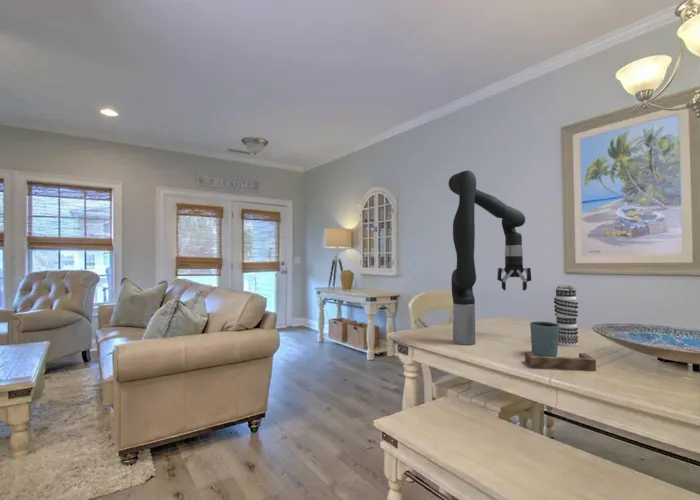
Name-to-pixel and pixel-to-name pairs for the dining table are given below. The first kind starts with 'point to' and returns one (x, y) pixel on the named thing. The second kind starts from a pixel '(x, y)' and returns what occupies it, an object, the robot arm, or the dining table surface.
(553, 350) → the teal cup
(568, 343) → the decorative candle
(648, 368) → the dining table surface
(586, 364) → the walnut rail
